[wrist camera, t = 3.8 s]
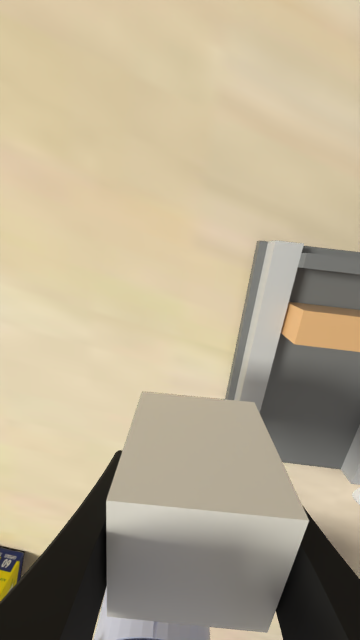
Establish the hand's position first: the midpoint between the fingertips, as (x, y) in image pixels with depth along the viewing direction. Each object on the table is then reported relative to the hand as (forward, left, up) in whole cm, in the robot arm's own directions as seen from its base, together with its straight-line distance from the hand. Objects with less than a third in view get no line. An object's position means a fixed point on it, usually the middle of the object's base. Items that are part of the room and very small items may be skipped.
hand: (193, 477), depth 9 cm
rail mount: (+1, -9, -8) cm, 13 cm away
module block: (0, 0, -2) cm, 2 cm away
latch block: (+5, -9, -8) cm, 14 cm away
